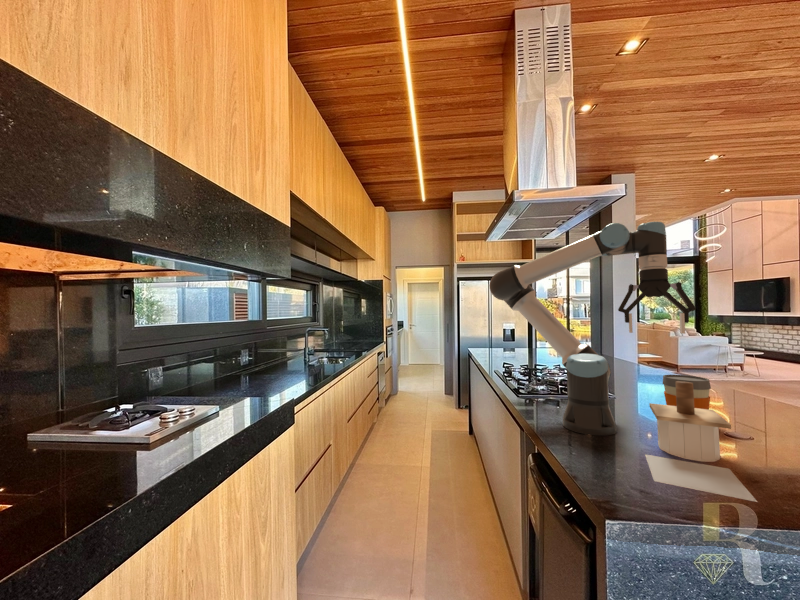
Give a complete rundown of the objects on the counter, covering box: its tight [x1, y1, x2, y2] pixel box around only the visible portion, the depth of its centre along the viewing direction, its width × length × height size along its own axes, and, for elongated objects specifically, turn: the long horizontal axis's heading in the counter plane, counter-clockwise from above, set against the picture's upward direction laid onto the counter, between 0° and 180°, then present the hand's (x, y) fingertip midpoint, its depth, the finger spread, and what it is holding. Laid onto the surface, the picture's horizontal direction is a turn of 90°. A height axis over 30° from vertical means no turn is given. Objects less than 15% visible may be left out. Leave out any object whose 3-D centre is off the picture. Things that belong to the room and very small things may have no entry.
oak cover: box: [649, 381, 732, 430], centre depth 88 cm, size 14×14×9 cm
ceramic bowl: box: [656, 419, 721, 463], centre depth 87 cm, size 12×12×10 cm
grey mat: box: [644, 454, 758, 503], centre depth 74 cm, size 16×16×1 cm
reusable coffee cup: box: [662, 374, 712, 410], centre depth 113 cm, size 13×13×15 cm
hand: (655, 333), depth 108 cm, fingers open, 13 cm apart
